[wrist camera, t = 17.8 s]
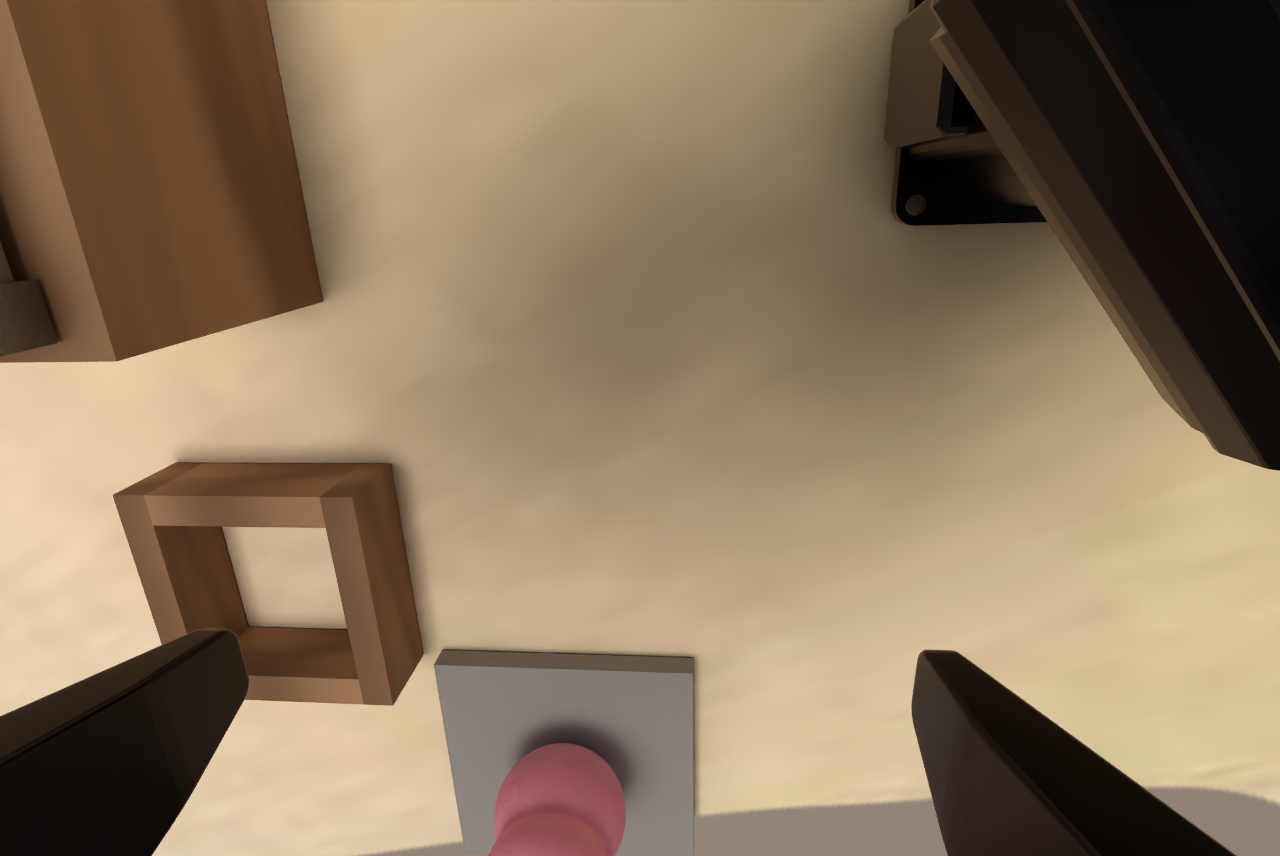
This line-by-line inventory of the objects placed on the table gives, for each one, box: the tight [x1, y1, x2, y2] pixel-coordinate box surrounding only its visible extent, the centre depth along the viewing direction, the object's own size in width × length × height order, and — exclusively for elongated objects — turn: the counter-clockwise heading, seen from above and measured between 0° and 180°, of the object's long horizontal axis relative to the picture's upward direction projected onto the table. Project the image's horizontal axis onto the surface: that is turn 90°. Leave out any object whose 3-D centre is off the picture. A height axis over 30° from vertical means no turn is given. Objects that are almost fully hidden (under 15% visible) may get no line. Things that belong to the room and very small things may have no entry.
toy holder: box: [0, 0, 423, 705], centre depth 17 cm, size 8×24×7 cm, turn 2°
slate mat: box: [434, 650, 694, 856], centre depth 24 cm, size 9×9×1 cm
